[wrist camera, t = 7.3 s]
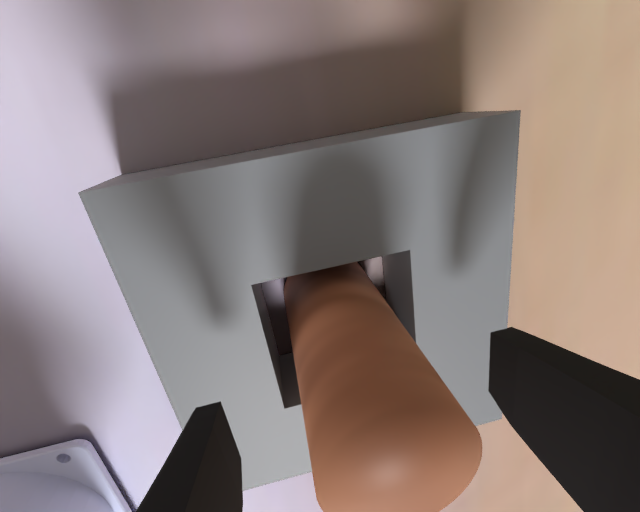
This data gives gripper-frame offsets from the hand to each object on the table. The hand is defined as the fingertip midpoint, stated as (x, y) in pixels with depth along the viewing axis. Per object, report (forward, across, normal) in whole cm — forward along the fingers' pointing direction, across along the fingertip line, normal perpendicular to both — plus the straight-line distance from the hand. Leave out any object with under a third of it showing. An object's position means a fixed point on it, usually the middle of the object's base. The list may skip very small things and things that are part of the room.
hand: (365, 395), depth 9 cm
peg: (+6, 0, 0) cm, 6 cm away
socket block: (+6, 0, 0) cm, 6 cm away
